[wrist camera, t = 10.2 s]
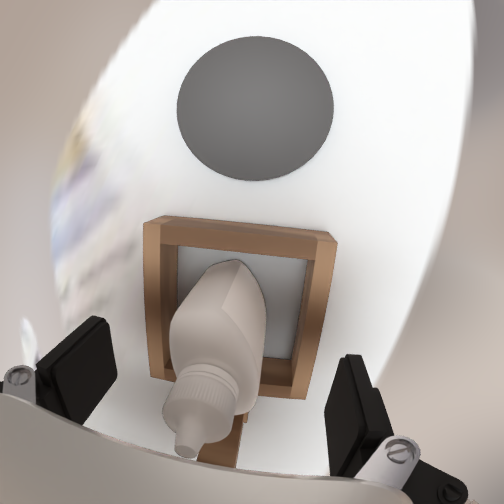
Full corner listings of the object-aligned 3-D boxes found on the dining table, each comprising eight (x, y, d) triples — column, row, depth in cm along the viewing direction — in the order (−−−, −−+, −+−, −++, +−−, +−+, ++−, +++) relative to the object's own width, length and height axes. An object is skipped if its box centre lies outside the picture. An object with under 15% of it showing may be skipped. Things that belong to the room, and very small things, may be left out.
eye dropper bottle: (282, 268, 18) (281, 411, 7) (260, 345, 20) (238, 502, 8) (211, 251, 18) (114, 364, 7) (197, 329, 20) (125, 469, 8)
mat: (325, 188, 17) (326, 189, 16) (173, 175, 17) (170, 175, 17) (334, 48, 15) (336, 44, 14) (189, 41, 15) (187, 37, 15)
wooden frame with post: (289, 428, 21) (286, 564, 9) (170, 411, 22) (115, 531, 10) (328, 232, 17) (417, 344, 5) (163, 215, 18) (4, 282, 6)
